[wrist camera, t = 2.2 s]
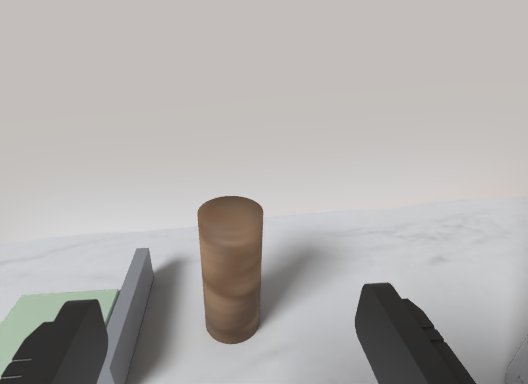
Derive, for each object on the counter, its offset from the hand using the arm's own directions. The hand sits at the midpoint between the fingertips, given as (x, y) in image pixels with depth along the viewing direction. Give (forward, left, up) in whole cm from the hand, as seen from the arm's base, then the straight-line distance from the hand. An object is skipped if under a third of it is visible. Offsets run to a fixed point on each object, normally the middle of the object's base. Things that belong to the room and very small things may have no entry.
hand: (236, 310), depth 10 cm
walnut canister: (0, -14, -17) cm, 22 cm away
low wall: (+9, -14, -17) cm, 23 cm away
